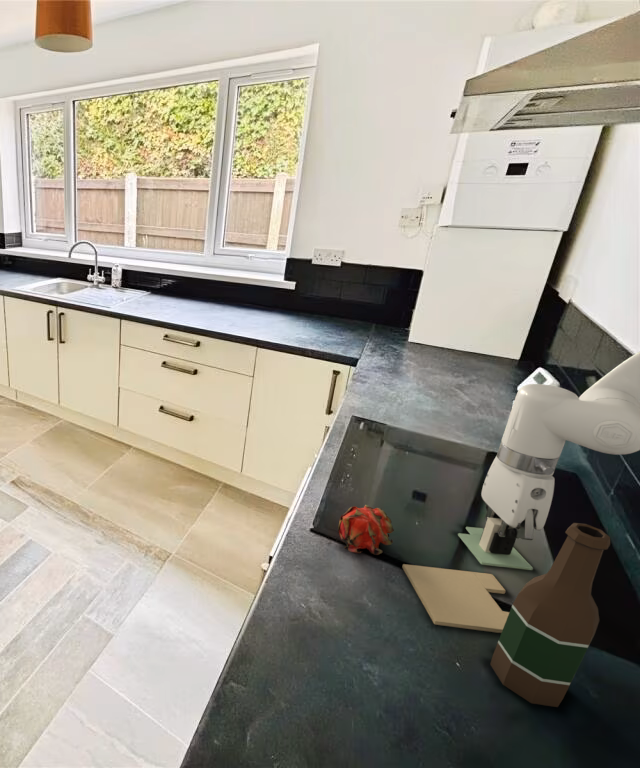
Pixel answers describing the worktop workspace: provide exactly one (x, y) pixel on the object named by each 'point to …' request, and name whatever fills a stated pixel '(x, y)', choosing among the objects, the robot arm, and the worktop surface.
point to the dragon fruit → (365, 529)
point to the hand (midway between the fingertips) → (494, 547)
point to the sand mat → (458, 597)
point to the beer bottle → (552, 622)
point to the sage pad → (490, 556)
